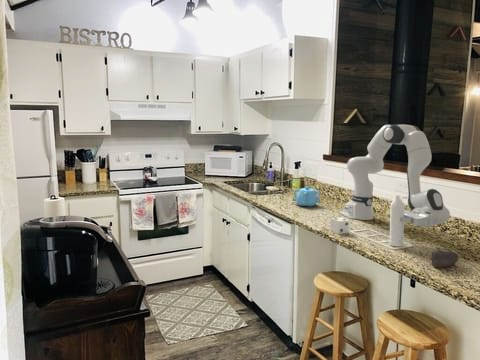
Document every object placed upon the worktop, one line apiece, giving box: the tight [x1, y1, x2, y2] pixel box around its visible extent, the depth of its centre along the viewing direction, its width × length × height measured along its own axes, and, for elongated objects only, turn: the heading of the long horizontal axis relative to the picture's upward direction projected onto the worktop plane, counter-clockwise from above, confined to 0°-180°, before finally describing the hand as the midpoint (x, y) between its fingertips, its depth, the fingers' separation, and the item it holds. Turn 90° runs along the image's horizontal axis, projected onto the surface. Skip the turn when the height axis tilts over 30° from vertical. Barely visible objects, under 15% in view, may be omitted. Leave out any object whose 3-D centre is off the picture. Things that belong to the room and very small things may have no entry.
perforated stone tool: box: [430, 250, 459, 268], centre depth 164 cm, size 15×5×7 cm, turn 108°
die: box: [330, 216, 350, 235], centre depth 211 cm, size 7×7×7 cm
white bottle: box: [388, 194, 408, 247], centre depth 188 cm, size 9×6×25 cm
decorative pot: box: [292, 186, 321, 208], centre depth 273 cm, size 16×16×14 cm
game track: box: [349, 228, 415, 251], centre depth 200 cm, size 31×14×1 cm, turn 25°
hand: (396, 217), depth 189 cm, fingers open, 6 cm apart
